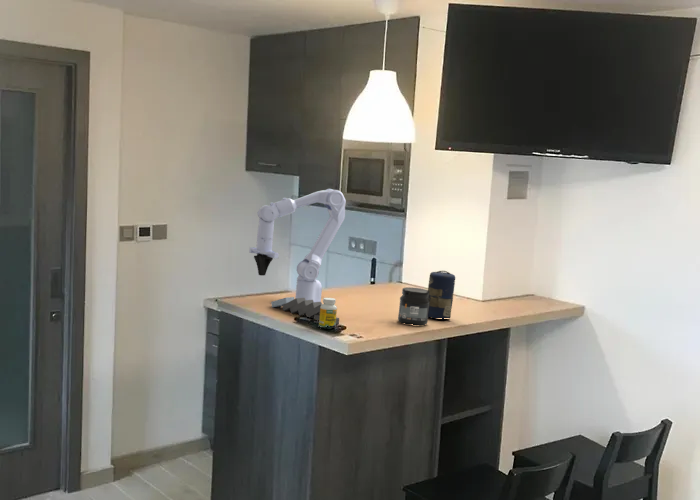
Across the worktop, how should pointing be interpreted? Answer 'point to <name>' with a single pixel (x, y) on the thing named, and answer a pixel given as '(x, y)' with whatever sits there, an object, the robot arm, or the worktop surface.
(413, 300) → the supplement container
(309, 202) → the robot arm
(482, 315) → the worktop surface
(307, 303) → the domino
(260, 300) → the worktop surface
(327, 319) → the supplement bottle
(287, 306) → the domino
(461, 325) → the worktop surface
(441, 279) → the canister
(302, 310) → the domino
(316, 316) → the domino
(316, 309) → the domino
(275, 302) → the domino
